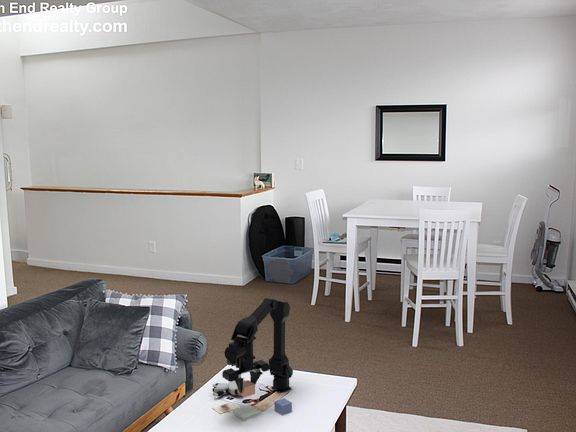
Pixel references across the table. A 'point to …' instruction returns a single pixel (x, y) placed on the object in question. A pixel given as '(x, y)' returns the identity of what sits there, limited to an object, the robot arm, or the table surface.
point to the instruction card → (225, 408)
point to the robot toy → (225, 388)
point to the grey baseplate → (246, 412)
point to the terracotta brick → (247, 389)
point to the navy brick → (283, 406)
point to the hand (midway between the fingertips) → (246, 391)
